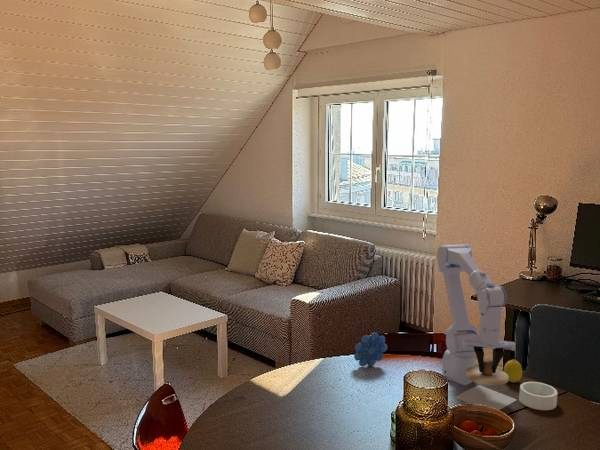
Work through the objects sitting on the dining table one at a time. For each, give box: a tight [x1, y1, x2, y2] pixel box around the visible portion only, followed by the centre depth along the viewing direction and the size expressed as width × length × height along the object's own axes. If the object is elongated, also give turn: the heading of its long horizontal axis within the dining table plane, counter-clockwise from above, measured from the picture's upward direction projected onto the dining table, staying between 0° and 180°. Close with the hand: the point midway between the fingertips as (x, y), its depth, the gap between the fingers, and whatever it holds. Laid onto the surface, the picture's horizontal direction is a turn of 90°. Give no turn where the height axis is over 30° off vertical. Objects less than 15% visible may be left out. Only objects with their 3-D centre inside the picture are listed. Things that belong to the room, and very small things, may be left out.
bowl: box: [518, 381, 558, 411], centre depth 167 cm, size 10×10×4 cm
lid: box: [466, 358, 509, 387], centre depth 168 cm, size 12×12×5 cm
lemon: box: [503, 359, 523, 384], centre depth 181 cm, size 6×6×8 cm
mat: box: [454, 384, 518, 411], centre depth 170 cm, size 13×13×1 cm
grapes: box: [353, 331, 388, 367], centre depth 194 cm, size 12×7×12 cm, turn 101°
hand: (487, 371), depth 168 cm, fingers closed on lid, 3 cm apart
